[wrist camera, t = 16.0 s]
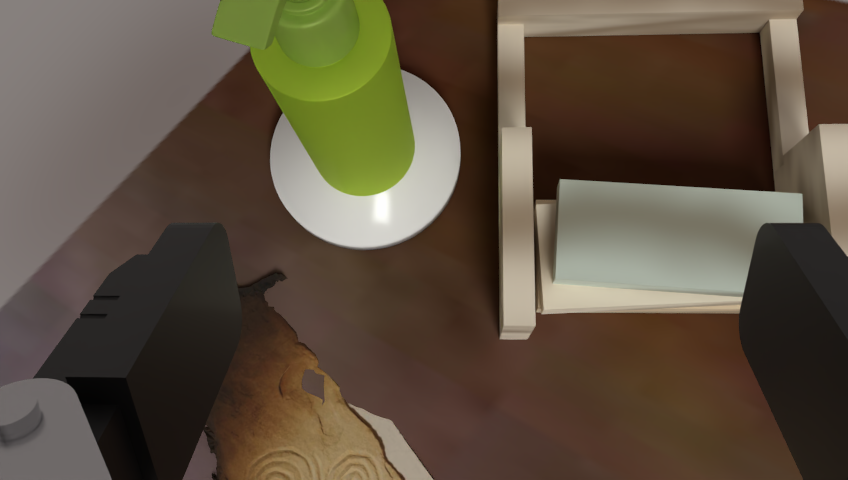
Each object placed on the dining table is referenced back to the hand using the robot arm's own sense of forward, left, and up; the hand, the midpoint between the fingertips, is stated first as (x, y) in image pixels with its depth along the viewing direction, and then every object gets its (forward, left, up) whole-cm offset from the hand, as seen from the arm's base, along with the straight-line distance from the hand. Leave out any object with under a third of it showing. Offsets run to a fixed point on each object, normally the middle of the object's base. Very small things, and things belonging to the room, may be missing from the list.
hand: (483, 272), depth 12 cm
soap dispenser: (+1, +14, -30) cm, 33 cm away
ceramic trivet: (+1, +14, -31) cm, 34 cm away
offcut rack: (+15, +6, -31) cm, 35 cm away
